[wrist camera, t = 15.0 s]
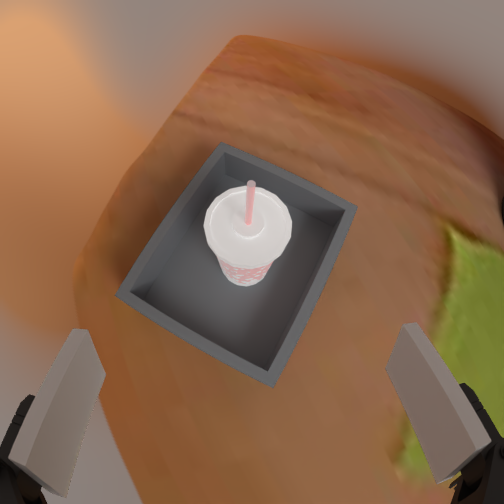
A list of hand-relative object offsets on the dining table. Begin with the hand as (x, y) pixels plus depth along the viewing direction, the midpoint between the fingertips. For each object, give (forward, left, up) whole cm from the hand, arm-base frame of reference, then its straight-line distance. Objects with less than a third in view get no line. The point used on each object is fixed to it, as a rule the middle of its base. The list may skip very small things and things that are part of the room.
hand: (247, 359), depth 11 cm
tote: (-8, -4, -17) cm, 19 cm away
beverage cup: (-8, -4, -16) cm, 18 cm away
